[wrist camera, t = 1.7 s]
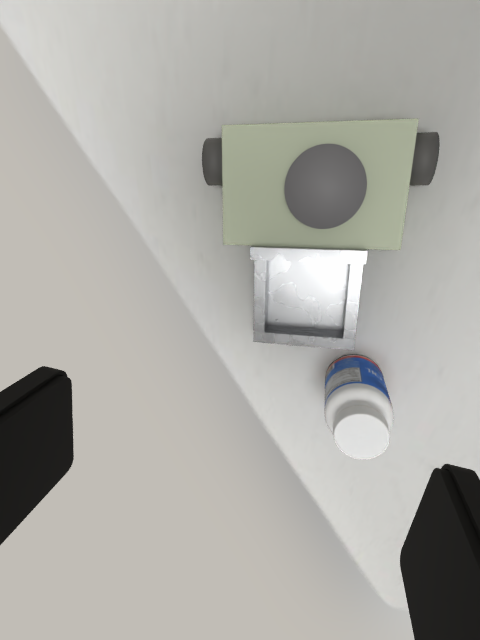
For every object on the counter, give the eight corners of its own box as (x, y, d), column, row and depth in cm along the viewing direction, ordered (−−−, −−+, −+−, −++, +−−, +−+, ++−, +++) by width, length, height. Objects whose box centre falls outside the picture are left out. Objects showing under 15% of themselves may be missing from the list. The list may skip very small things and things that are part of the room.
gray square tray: (362, 243, 33) (367, 251, 28) (352, 339, 36) (355, 359, 31) (259, 240, 34) (250, 247, 30) (257, 332, 37) (249, 350, 33)
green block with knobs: (430, 125, 29) (446, 115, 25) (413, 244, 32) (424, 252, 28) (214, 132, 32) (199, 124, 28) (216, 239, 35) (202, 245, 31)
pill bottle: (392, 391, 36) (413, 458, 27) (339, 409, 38) (343, 477, 29) (368, 343, 35) (382, 396, 26) (315, 364, 37) (311, 420, 28)
